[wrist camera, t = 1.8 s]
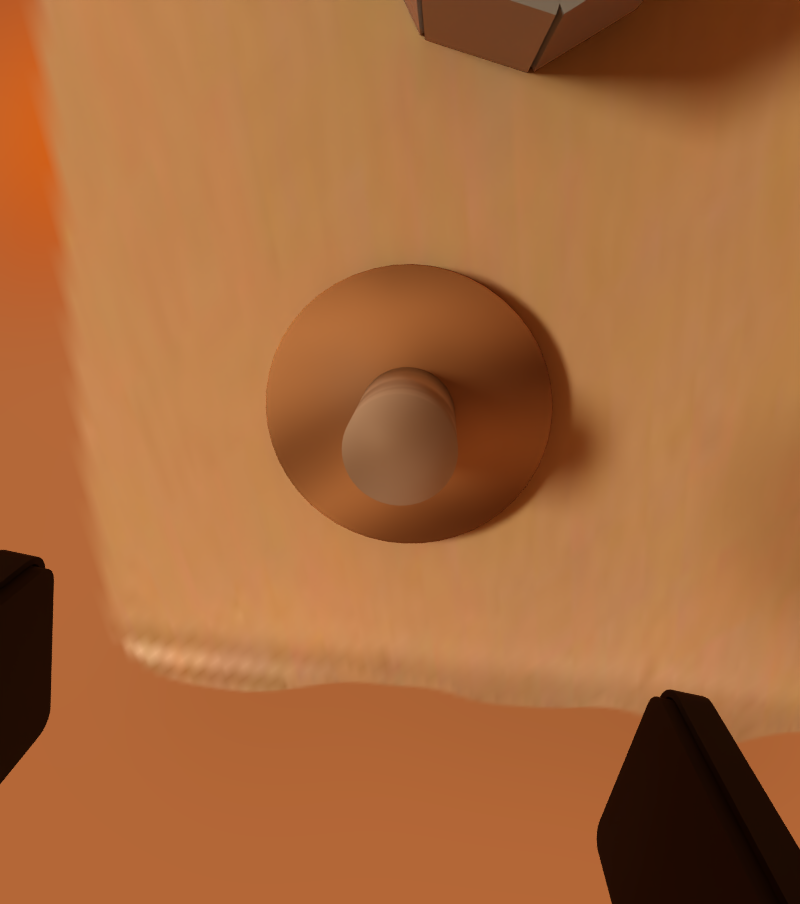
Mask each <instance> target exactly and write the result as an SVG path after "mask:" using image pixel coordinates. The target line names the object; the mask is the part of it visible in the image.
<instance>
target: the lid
mask: <svg viewBox="0 0 800 904" xmlns="http://www.w3.org/2000/svg"><path fill="white" fill-rule="evenodd" d="M266 414H267V423H268V429H269V433H270V437H271V441H272V445H273V447H274V450H275V452H276V455H277V457H278V460H279V462H280V464H281V466H282V467H283V469H284V471H285V473H286V475H287V476H288V478H289V479H290V481H291V482H292V483H293V485H294V486H295V488H296V489H297V490H298V491H299V492H300V493H301V495H302V496H303V497H304V498H305V499H306V500H307V501H308V502H309V503H310V504H311V505H312V506H313V507H315V508H316V509H317V510H318V511H319V512H321V513H322V514H323V515H325V516H326V517H328V518H329V519H331V520H332V521H334V522H335V523H337V524H339V525H341V526H343V527H345V528H347V529H349V530H351V531H353V532H355V533H358V534H361V535H364V536H366V537H369V538H374V539H378V540H382V541H387V542H396V543H426V542H434V541H440V540H444V539H448V538H452V537H455V536H458V535H461V534H463V533H466V532H468V531H471V530H473V529H475V528H477V527H479V526H480V525H482V524H484V523H486V522H488V521H489V520H491V519H492V518H493V517H495V516H496V515H498V514H499V513H500V512H502V511H503V510H504V509H505V508H506V507H507V506H508V505H509V504H511V503H512V502H513V501H514V500H515V499H516V497H517V496H518V495H519V494H520V493H521V492H522V490H523V489H524V488H525V487H526V485H527V484H528V482H529V481H530V479H531V478H532V476H533V474H534V473H535V471H536V469H537V467H538V465H539V463H540V461H541V459H542V457H543V454H544V451H545V448H546V444H547V441H548V438H549V433H550V427H551V421H552V393H551V383H550V379H549V375H548V371H547V367H546V363H545V361H544V358H543V356H542V353H541V351H540V348H539V346H538V344H537V342H536V341H535V339H534V337H533V335H532V334H531V332H530V330H529V329H528V327H527V326H526V325H525V324H524V322H523V321H522V320H521V318H520V317H519V316H518V314H517V313H516V312H515V311H514V310H513V309H512V308H511V307H510V306H509V305H508V304H507V303H506V302H504V301H503V300H502V299H501V298H500V297H499V296H497V295H496V294H495V293H493V292H492V291H491V290H489V289H488V288H487V287H485V286H483V285H481V284H480V283H478V282H476V281H474V280H472V279H471V278H469V277H466V276H463V275H461V274H458V273H456V272H453V271H450V270H446V269H442V268H438V267H433V266H425V265H415V264H407V265H391V266H385V267H380V268H374V269H371V270H368V271H365V272H362V273H359V274H356V275H353V276H351V277H349V278H347V279H345V280H342V281H340V282H338V283H336V284H334V285H333V286H331V287H330V288H329V289H327V290H326V291H324V292H323V293H321V294H320V295H318V296H317V297H316V298H315V299H314V300H313V301H312V302H310V303H309V304H308V305H307V306H306V307H305V308H304V309H303V310H302V311H301V312H300V314H299V315H298V316H297V317H296V318H295V320H294V321H293V322H292V323H291V325H290V327H289V328H288V330H287V331H286V333H285V334H284V336H283V338H282V340H281V342H280V344H279V346H278V348H277V350H276V353H275V355H274V358H273V361H272V365H271V368H270V371H269V377H268V383H267V389H266Z"/></svg>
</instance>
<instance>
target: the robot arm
mask: <svg viewBox="0 0 800 904" xmlns="http://www.w3.org/2000/svg"><path fill="white" fill-rule="evenodd" d="M53 590H54V577H53V573H52V571H51V570H49V569H45V564H44V562H43V560H42V559H41V558H39V557H36V556H31V555H26V554H21V553H17V552H12V551H7V550H0V784H1V782H2V781H3V780H4V779H5V777H6V776H7V775H8V774H9V772H10V771H11V770H12V769H13V768H14V766H15V765H16V764H17V763H18V761H19V760H20V759H21V758H22V757H23V755H24V754H25V752H27V750H28V749H29V748H30V747H31V745H32V744H33V743H34V742H35V740H36V739H37V738H38V737H39V735H40V734H41V732H42V731H43V729H44V727H45V725H46V723H47V720H48V717H49V714H50V703H51V665H52V663H51V662H52V628H53V627H52V626H53ZM597 847H598V853H599V856H600V860H601V864H602V868H603V871H604V875H605V879H606V883H607V886H608V890H609V894H610V898H611V902H612V904H800V849H799V847H798V846H797V844H796V843H795V841H794V839H793V837H792V836H791V834H790V832H789V831H788V829H787V827H786V826H785V824H784V822H783V821H782V819H781V818H780V816H779V814H778V813H777V811H776V809H775V807H774V806H773V804H772V802H771V801H770V799H769V797H768V796H767V794H766V792H765V791H764V789H763V788H762V786H761V784H760V782H759V781H758V779H757V777H756V776H755V774H754V772H753V771H752V769H751V768H750V766H749V764H748V762H747V761H746V759H745V757H744V756H743V754H742V752H741V751H740V749H739V747H738V746H737V744H736V742H735V741H734V739H733V737H732V736H731V734H730V732H729V731H728V729H727V727H726V726H725V724H724V722H723V721H722V719H721V717H720V716H719V714H718V712H717V711H716V709H715V707H714V706H713V704H712V703H711V701H710V700H709V699H708V698H706V697H703V696H699V695H694V694H689V693H684V692H680V691H675V690H666V691H664V692H663V693H662V695H661V696H660V697H653V698H651V699H650V701H649V703H648V705H647V707H646V710H645V712H644V714H643V717H642V719H641V722H640V724H639V727H638V729H637V732H636V734H635V736H634V739H633V741H632V744H631V746H630V749H629V751H628V753H627V756H626V758H625V761H624V763H623V766H622V768H621V770H620V773H619V775H618V778H617V780H616V783H615V785H614V788H613V790H612V793H611V795H610V797H609V800H608V803H607V804H606V807H605V809H604V812H603V814H602V817H601V819H600V822H599V825H598V830H597Z"/></svg>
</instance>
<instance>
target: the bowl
mask: <svg viewBox="0 0 800 904" xmlns="http://www.w3.org/2000/svg"><path fill="white" fill-rule="evenodd" d="M642 1H643V0H404V2H405V4H406V6H407V8H408V10H409V12H410V15H411V17H412V19H413V21H414V23H415V25H416V27H417V30H418V32H419V34H420V35H421V34H423V33H424V35H425V40H427V41H431V42H434V43H437V44H440V45H443V46H446V47H449V48H452V49H455V50H458V51H462V52H465V53H468V54H471V55H474V56H477V57H480V58H483V59H486V60H490V61H493V62H496V63H499V64H502V65H505V66H508V67H511V68H514V69H518V70H521V71H524V72H528V70H529V68H530V66H531V67H532V69H533V72H534V71H536V70H537V69H539V68H541V67H542V66H544V65H546V64H547V63H549V62H550V61H552V60H554V59H555V58H557V57H559V56H560V55H562V54H564V53H565V52H567V51H568V50H570V49H572V48H573V47H575V46H577V45H578V44H580V43H582V42H583V41H585V40H587V39H588V38H590V37H591V36H593V35H595V34H596V33H598V32H600V31H601V30H603V29H605V28H606V27H608V26H609V25H611V24H613V23H614V22H616V21H618V20H619V19H621V18H623V17H624V16H626V15H628V14H629V13H631V12H632V11H634V10H636V9H637V7H638V6H639V5H640V4H641V3H642Z"/></svg>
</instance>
